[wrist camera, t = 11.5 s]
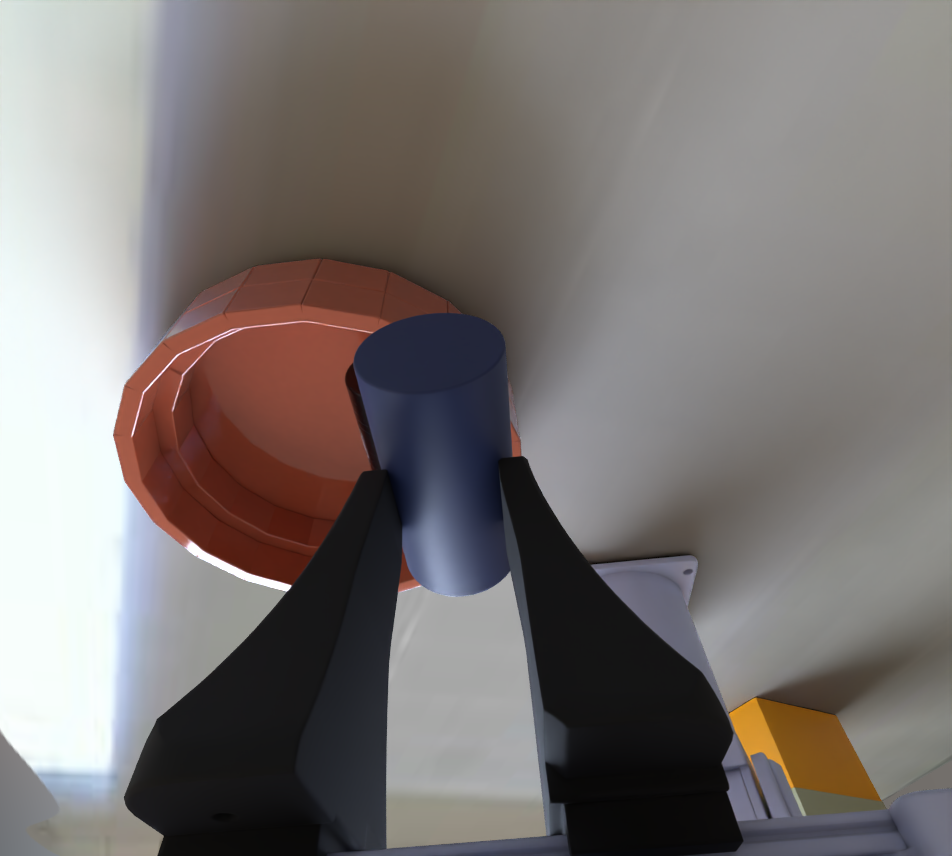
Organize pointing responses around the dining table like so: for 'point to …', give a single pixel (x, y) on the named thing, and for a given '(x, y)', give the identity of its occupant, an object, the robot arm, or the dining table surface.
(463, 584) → the navy tube
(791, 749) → the orange juice
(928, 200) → the dining table surface
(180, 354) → the bowl
